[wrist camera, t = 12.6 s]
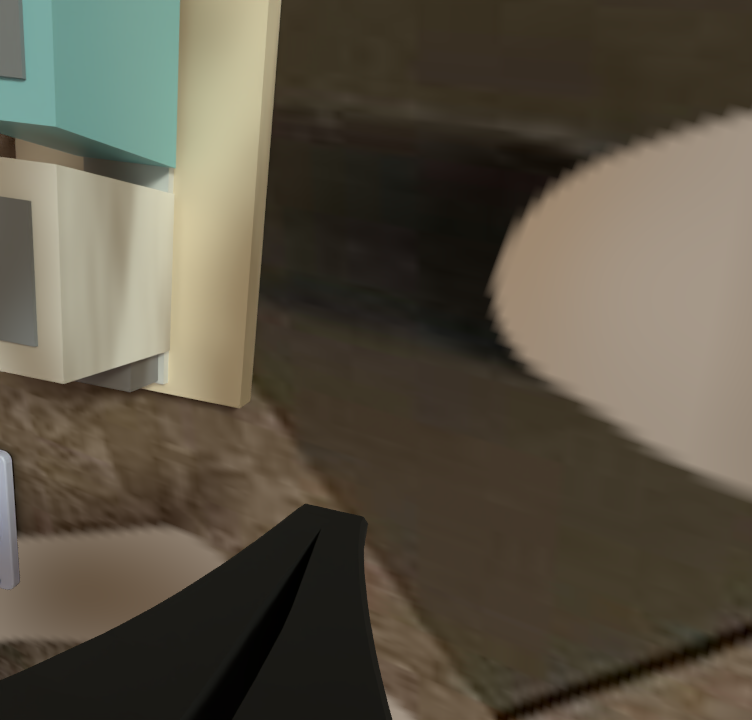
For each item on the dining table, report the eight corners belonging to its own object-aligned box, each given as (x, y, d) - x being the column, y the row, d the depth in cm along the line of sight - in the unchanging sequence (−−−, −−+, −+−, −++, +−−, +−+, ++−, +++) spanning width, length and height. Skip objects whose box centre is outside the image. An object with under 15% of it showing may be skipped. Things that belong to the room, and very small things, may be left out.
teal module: (78, 155, 16) (-83, 109, 11) (73, -32, 15) (-113, -179, 10) (175, 168, 16) (52, 125, 11) (180, -25, 14) (41, -176, 9)
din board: (47, 360, 20) (-131, 403, 14) (18, -337, 14) (-311, -797, 8) (250, 400, 19) (153, 468, 13) (308, -344, 13) (182, -893, 7)
